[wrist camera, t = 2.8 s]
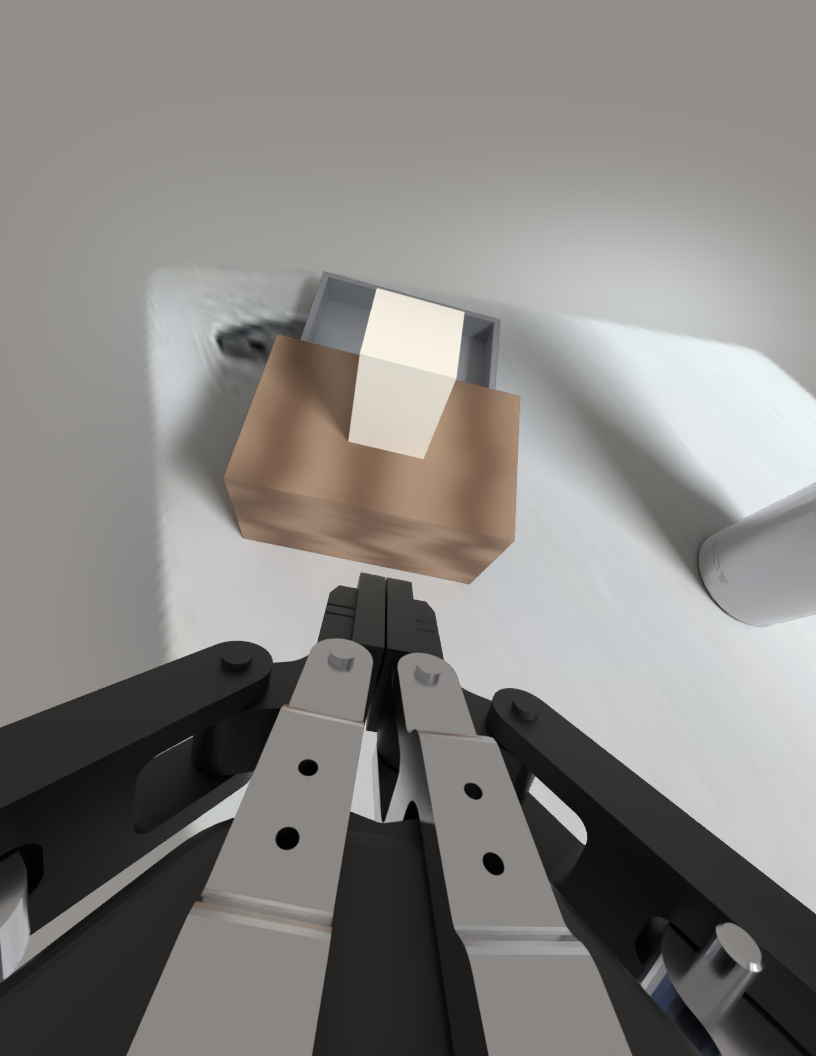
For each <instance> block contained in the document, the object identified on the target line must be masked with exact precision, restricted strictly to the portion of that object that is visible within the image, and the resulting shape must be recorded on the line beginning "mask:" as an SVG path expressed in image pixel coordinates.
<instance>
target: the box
mask: <svg viewBox="0 0 816 1056" xmlns="http://www.w3.org/2000/svg"><path fill="white" fill-rule="evenodd" d="M377 288H379V289H383V290H386V291H390V292H393V293H397V294H401V295H404V296H408V297H412V298H415V299H419V300H423V301H426V302H430V303H433V304H437V305H441V306H444V307H448V308H452V309H455V310H459V311H463V312H464V321H463V329H462V337H461V345H460V353H459V361H458V369H457V378H456V380H459V381H462V382H466V383H470V384H474V385H478V386H482V387H486V388H490V389H494V390H495V384H496V370H497V356H498V342H499V328H500V320H499V319H495V318H492V317H488V316H484V315H481V314H477V313H473V312H470V311H466V310H463V309H459V308H455V307H452V306H448V305H444V304H441V303H437V302H433V301H430V300H426V299H423V298H419V297H415V296H412V295H408V294H404V293H401V292H397V291H394V290H390V289H386V288H383V287H379V286H375V285H372V284H368V283H365V282H361V281H357V280H354V279H350V278H346V277H343V276H339V275H336V274H332V273H328V272H325V271H324V272H323V275H322V278H321V281H320V284H319V287H318V290H317V293H316V296H315V298H314V301H313V304H312V307H311V310H310V313H309V316H308V319H307V322H306V325H305V328H304V330H303V333H302V336H301V339H300V340H303V341H307V342H310V343H314V344H318V345H322V346H326V347H330V348H334V349H338V350H342V351H346V352H349V353H353V354H357V355H360V351H361V347H362V344H363V340H364V336H365V332H366V328H367V324H368V320H369V316H370V312H371V309H372V305H373V301H374V297H375V293H376V289H377Z"/></svg>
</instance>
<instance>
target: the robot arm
mask: <svg viewBox="0 0 816 1056" xmlns="http://www.w3.org/2000/svg"><path fill="white" fill-rule="evenodd" d="M699 569H700V573H701V577H702V579H703V582H704V584H705V586H706V588H707V590H708V591H709V593H710V595H711V596H712V598H713V599H714V600H715V601H716V602H717V603H718V605H719V606H720V607H721V608H722V609H724V610H725V611H726V612H727V613H728V614H729V615H731V616H733V617H734V618H736V619H737V620H739V621H741V622H744V623H746V624H748V625H753V626H758V627H761V626H770V625H774V624H778V623H783V622H787V621H791V620H795V619H799V618H803V617H807V616H812V615H816V483H814V484H812V485H810V486H808V487H806V488H804V489H802V490H800V491H798V492H796V493H794V494H792V495H790V496H788V497H786V498H784V499H782V500H780V501H778V502H776V503H774V504H772V505H770V506H768V507H766V508H764V509H762V510H760V511H758V512H756V513H754V514H752V515H750V516H748V517H746V518H744V519H742V520H740V521H738V522H736V523H734V524H732V525H730V526H728V527H726V528H724V529H722V530H720V531H719V532H717V533H715V534H713V535H711V536H709V537H708V538H707V539H706V540H705V541H704V542H703V544H702V546H701V548H700V552H699ZM366 718H367V724H366V731H372V732H377V743H376V747H375V751H374V754H373V758H372V771H373V792H374V812H375V821H373V820H371V819H368V818H366V817H363V816H360V815H358V814H355V813H353V812H350V809H351V803H352V797H353V791H354V785H355V779H356V773H357V767H358V761H359V755H360V749H361V743H362V737H363V731H364V725H365V722H366ZM191 736H193V737H192V738H190V739H188V738H189V737H191ZM186 739H188V740H186ZM184 740H186V741H184ZM182 741H184V742H182ZM180 742H182V743H181V744H179V745H177V746H175V745H176V744H178V743H180ZM173 746H175V747H173ZM171 747H173V748H172V749H169V748H171ZM167 749H169V750H168V751H166V752H164V753H162V754H160V753H161V752H163V751H165V750H167ZM158 754H160V755H158ZM156 755H158V756H157V757H155V756H156ZM154 757H155V758H154ZM535 776H536V777H537V778H538V779H539V780H540V781H541V782H542V783H543V784H545V785H546V786H547V787H548V788H549V789H550V790H551V791H552V792H553V793H554V794H555V795H556V796H558V797H559V798H560V799H561V800H562V801H563V802H564V803H565V804H566V805H567V806H568V807H569V808H571V809H572V810H573V811H574V812H575V813H576V814H577V815H578V816H579V818H580V819H581V820H582V822H583V824H584V826H585V828H586V831H587V843H586V845H584V844H582V843H581V842H580V841H579V840H578V839H577V838H576V837H575V836H574V835H573V834H572V833H571V832H569V831H568V830H567V829H566V828H565V827H564V826H563V825H562V824H561V823H560V822H559V821H558V820H557V819H556V818H555V817H554V816H553V815H552V814H551V813H550V812H549V811H548V810H547V809H546V808H545V807H544V806H543V805H541V804H540V803H539V802H538V801H537V800H536V799H535V798H534V797H533V796H532V795H531V794H530V793H529V789H530V787H531V785H532V782H533V780H534V778H535ZM250 779H251V781H250V783H249V785H248V788H247V790H246V792H245V795H244V797H243V799H242V802H241V804H240V806H239V809H238V811H237V814H236V816H235V818H232V819H229V820H226V821H223V822H220V823H217V824H215V825H213V826H211V827H209V828H207V829H205V830H203V831H201V832H199V833H197V834H196V835H194V836H193V837H191V838H189V839H188V840H186V841H185V842H183V843H182V844H180V845H179V846H178V847H176V848H175V849H174V850H172V851H171V852H170V853H168V854H167V855H166V856H165V857H163V858H162V859H161V860H160V861H158V862H157V863H156V864H154V865H153V866H152V867H150V868H149V869H148V870H146V871H145V872H144V873H143V874H141V875H140V876H139V877H137V878H136V879H135V880H133V881H132V882H131V883H129V884H128V885H127V886H126V887H124V888H123V889H122V890H120V891H119V892H118V893H116V894H115V895H114V896H113V897H111V898H110V899H109V900H107V901H106V902H105V903H103V904H102V905H101V906H100V907H98V908H97V909H96V910H94V911H93V912H92V913H90V914H89V915H88V916H87V917H85V918H84V919H83V920H81V921H80V922H79V923H77V924H76V925H75V926H73V927H72V928H71V929H70V930H68V931H67V932H66V933H65V934H63V935H62V936H60V937H59V938H58V939H57V940H55V941H54V942H53V943H51V944H50V945H49V946H47V947H46V948H45V949H44V950H42V951H41V952H40V953H38V954H37V955H36V956H34V957H33V958H32V959H31V960H29V961H28V962H27V963H25V964H24V965H23V966H21V967H20V968H19V969H18V970H16V971H15V972H14V970H15V969H16V966H17V965H18V964H19V962H20V960H21V958H22V956H23V954H24V952H25V950H26V947H27V944H28V941H29V936H30V935H32V934H33V933H35V932H36V931H37V930H39V929H40V928H42V927H43V926H45V925H46V924H47V923H49V922H50V921H52V920H53V919H55V918H56V917H57V916H59V915H60V914H61V913H63V912H64V911H66V910H67V909H69V908H70V907H72V906H73V905H74V904H76V903H77V902H79V901H80V900H82V899H83V898H85V897H86V896H87V895H89V894H90V893H92V892H93V891H95V890H96V889H97V888H99V887H100V886H102V885H103V884H105V883H106V882H107V881H109V880H110V879H111V878H113V877H115V876H116V875H117V874H119V873H120V872H122V871H123V870H124V869H126V868H127V867H129V866H130V865H132V864H133V863H134V862H136V861H137V860H139V859H140V858H142V857H143V856H144V855H146V854H147V853H149V852H150V851H152V850H153V849H154V848H156V847H157V846H158V845H160V844H162V843H163V842H164V841H166V840H167V839H169V838H170V837H171V836H173V835H174V834H176V833H177V832H179V831H180V830H182V829H183V828H184V827H186V826H187V825H189V824H190V823H192V822H193V821H194V820H196V819H197V818H199V817H200V816H202V815H203V814H204V813H206V812H207V811H209V810H210V809H212V808H213V807H214V806H216V805H217V804H219V803H220V802H222V801H223V800H224V799H226V798H227V797H229V796H230V795H232V794H233V793H234V792H236V791H237V790H239V789H240V788H242V787H243V786H244V785H245V784H247V783H248V781H249V780H250ZM13 972H14V973H13ZM0 1056H816V914H815V913H814V912H812V911H811V910H810V909H809V908H807V907H806V906H805V905H803V904H802V903H801V902H800V901H798V900H797V899H796V898H794V897H793V896H792V895H791V894H789V893H788V892H787V891H786V890H784V889H783V888H782V887H780V886H779V885H778V884H777V883H775V882H774V881H773V880H771V879H770V878H769V877H768V876H766V875H765V874H764V873H762V872H761V871H760V870H759V869H757V868H756V867H755V866H753V865H752V864H751V863H750V862H748V861H747V860H746V859H744V858H743V857H742V856H741V855H739V854H738V853H737V852H735V851H734V850H733V849H732V848H730V847H729V846H728V845H726V844H725V843H724V842H723V841H721V840H720V839H719V838H718V837H716V836H715V835H714V834H712V833H711V832H710V831H709V830H707V829H706V828H705V827H703V826H702V825H701V824H700V823H698V822H697V821H696V820H694V819H693V818H692V817H691V816H689V815H688V814H687V813H685V812H684V811H683V810H682V809H680V808H679V807H678V806H676V805H675V804H674V803H673V802H671V801H670V800H669V799H667V798H666V797H665V796H664V795H662V794H661V793H660V792H658V791H657V790H656V789H655V788H653V787H652V786H651V785H650V784H648V783H647V782H646V781H644V780H643V779H642V778H641V777H639V776H638V775H637V774H635V773H634V772H633V771H632V770H630V769H629V768H628V767H626V766H625V765H624V764H623V763H621V762H620V761H619V760H617V759H616V758H615V757H614V756H612V755H611V754H610V753H608V752H607V751H606V750H605V749H603V748H602V747H601V746H599V745H598V744H597V743H596V742H594V741H593V740H592V739H591V738H589V737H588V736H587V735H585V734H584V733H583V732H582V731H580V730H579V729H578V728H576V727H575V726H574V725H573V724H571V723H570V722H569V721H567V720H566V719H565V718H564V717H562V716H561V715H560V714H558V713H557V712H556V711H555V710H553V709H552V708H551V707H549V706H548V705H547V704H546V703H544V702H543V701H542V700H540V699H539V698H537V697H536V696H534V695H532V694H530V693H528V692H526V691H523V690H519V689H514V688H505V689H501V690H499V691H497V692H496V693H495V694H494V696H493V699H492V701H490V700H488V699H485V698H483V697H480V696H478V695H475V694H473V693H471V692H469V691H467V690H465V689H463V688H462V687H461V686H460V683H459V680H458V677H457V674H456V672H455V671H454V669H453V668H452V667H451V666H450V665H449V664H448V663H447V662H445V661H444V659H443V653H442V648H441V643H440V637H439V634H438V627H437V621H436V616H435V612H434V611H433V610H432V608H431V607H430V606H429V605H428V604H427V602H425V601H419V600H414V599H413V591H412V583H411V582H408V581H403V580H398V579H392V578H386V581H385V577H382V576H377V575H372V574H366V573H360V577H359V581H358V586H357V589H356V588H351V587H345V586H340V585H339V586H338V587H337V588H335V589H334V590H333V591H331V592H330V594H329V598H328V602H327V606H326V610H325V614H324V618H323V622H322V626H321V630H320V634H319V638H318V642H317V644H315V645H314V646H313V647H312V649H311V651H310V654H309V655H308V656H306V657H304V658H302V659H299V660H295V661H291V662H278V663H273V660H272V657H271V655H270V654H269V652H268V651H267V650H266V649H264V648H263V647H261V646H259V645H257V644H254V643H250V642H245V641H228V642H223V643H220V644H216V645H214V646H211V647H209V648H206V649H203V650H201V651H198V652H196V653H193V654H190V655H188V656H185V657H183V658H180V659H177V660H175V661H172V662H170V663H167V664H164V665H162V666H159V667H157V668H154V669H151V670H149V671H146V672H144V673H141V674H139V675H136V676H134V677H131V678H128V679H126V680H123V681H120V682H118V683H115V684H112V685H110V686H107V687H105V688H102V689H99V690H97V691H94V692H92V693H89V694H86V695H84V696H81V697H79V698H76V699H74V700H71V701H68V702H66V703H63V704H61V705H58V706H55V707H53V708H51V709H48V710H45V711H42V712H40V713H37V714H34V715H32V716H30V717H27V718H24V719H22V720H19V721H16V722H14V723H11V724H9V725H6V726H3V727H1V728H0Z"/></svg>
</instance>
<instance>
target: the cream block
mask: <svg viewBox="0 0 816 1056" xmlns="http://www.w3.org/2000/svg"><path fill="white" fill-rule="evenodd" d="M463 321H464V312H463V311H459V310H455V309H452V308H448V307H444V306H441V305H437V304H433V303H430V302H426V301H423V300H419V299H415V298H412V297H408V296H404V295H401V294H397V293H393V292H390V291H386V290H383V289H379V288H377V289H376V293H375V297H374V301H373V305H372V309H371V312H370V316H369V320H368V324H367V328H366V332H365V336H364V340H363V344H362V347H361V351H360V357H359V364H358V372H357V379H356V387H355V394H354V402H353V410H352V417H351V425H350V432H349V440H348V442H352V443H357V444H361V445H365V446H370V447H374V448H378V449H382V450H387V451H391V452H395V453H400V454H404V455H408V456H412V457H417V458H421V459H424V456H425V454H426V451H427V449H428V447H429V444H430V442H431V439H432V437H433V434H434V432H435V429H436V427H437V425H438V422H439V420H440V417H441V415H442V412H443V410H444V408H445V405H446V403H447V400H448V398H449V395H450V393H451V390H452V388H453V386H454V383H455V381H456V378H457V369H458V361H459V353H460V345H461V337H462V329H463Z"/></svg>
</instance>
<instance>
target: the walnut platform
mask: <svg viewBox="0 0 816 1056" xmlns="http://www.w3.org/2000/svg"><path fill="white" fill-rule="evenodd" d="M359 357H360V355H357V354H353V353H349V352H346V351H342V350H338V349H334V348H330V347H326V346H322V345H318V344H314V343H310V342H307V341H303V340H299V339H295V338H291V337H287V336H283V335H279V334H278V335H277V337H276V340H275V343H274V345H273V348H272V350H271V353H270V356H269V358H268V361H267V364H266V366H265V369H264V372H263V374H262V377H261V380H260V382H259V385H258V387H257V390H256V393H255V395H254V398H253V401H252V403H251V406H250V409H249V411H248V414H247V417H246V419H245V422H244V424H243V427H242V430H241V432H240V435H239V438H238V440H237V443H236V446H235V448H234V451H233V454H232V456H231V459H230V461H229V464H228V467H227V469H226V472H225V475H224V477H223V478H224V481H225V484H226V487H227V490H228V494H229V497H230V500H231V503H232V506H233V509H234V512H235V515H236V518H237V521H238V524H239V527H240V530H241V533H242V536H243V538H245V539H250V540H255V541H259V542H264V543H269V544H274V545H279V546H284V547H289V548H294V549H299V550H304V551H309V552H314V553H318V554H323V555H328V556H333V557H338V558H343V559H348V560H353V561H358V562H363V563H368V564H373V565H378V566H382V567H387V568H392V569H397V570H402V571H407V572H412V573H417V574H422V575H427V576H432V577H437V578H442V579H446V580H451V581H456V582H461V583H466V584H470V583H471V582H472V581H473V580H474V579H475V578H476V577H478V576H479V575H480V574H481V573H482V572H483V571H484V570H485V569H486V568H487V567H488V566H489V565H490V564H491V563H492V562H493V561H494V560H495V559H496V558H497V557H498V556H499V555H500V554H501V553H503V552H504V551H505V550H506V549H507V548H508V547H509V546H510V545H511V544H512V543H513V542H514V540H515V514H516V489H517V463H518V437H519V411H520V396H517V395H513V394H509V393H505V392H501V391H498V390H494V389H490V388H486V387H482V386H478V385H474V384H470V383H466V382H462V381H459V380H456V381H455V383H454V386H453V388H452V390H451V393H450V395H449V398H448V400H447V403H446V405H445V408H444V410H443V412H442V415H441V417H440V420H439V422H438V425H437V427H436V429H435V432H434V434H433V437H432V439H431V442H430V444H429V447H428V449H427V451H426V454H425V456H424V459H421V458H417V457H412V456H408V455H404V454H400V453H395V452H391V451H387V450H382V449H378V448H374V447H370V446H365V445H361V444H357V443H352V442H348V440H349V432H350V425H351V417H352V410H353V402H354V394H355V387H356V379H357V372H358V364H359Z"/></svg>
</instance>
